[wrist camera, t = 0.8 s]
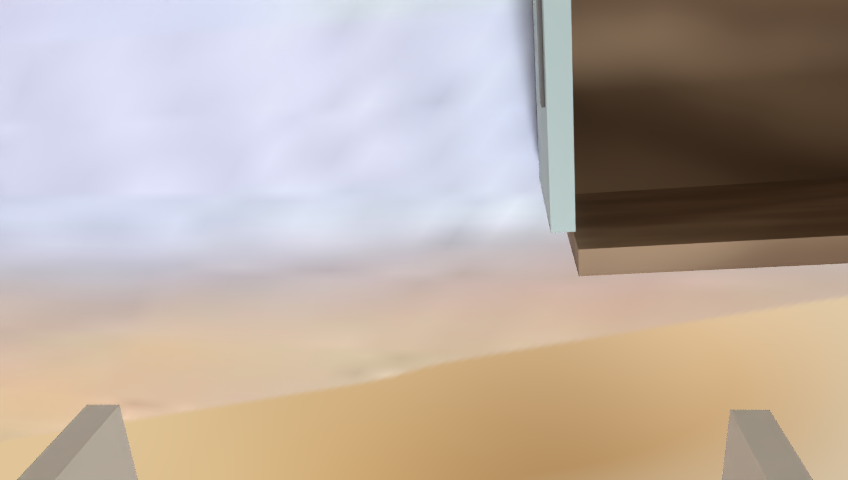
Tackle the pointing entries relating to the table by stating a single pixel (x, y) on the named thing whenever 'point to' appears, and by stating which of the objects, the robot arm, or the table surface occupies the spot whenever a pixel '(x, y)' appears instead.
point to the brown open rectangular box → (709, 134)
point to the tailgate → (555, 110)
